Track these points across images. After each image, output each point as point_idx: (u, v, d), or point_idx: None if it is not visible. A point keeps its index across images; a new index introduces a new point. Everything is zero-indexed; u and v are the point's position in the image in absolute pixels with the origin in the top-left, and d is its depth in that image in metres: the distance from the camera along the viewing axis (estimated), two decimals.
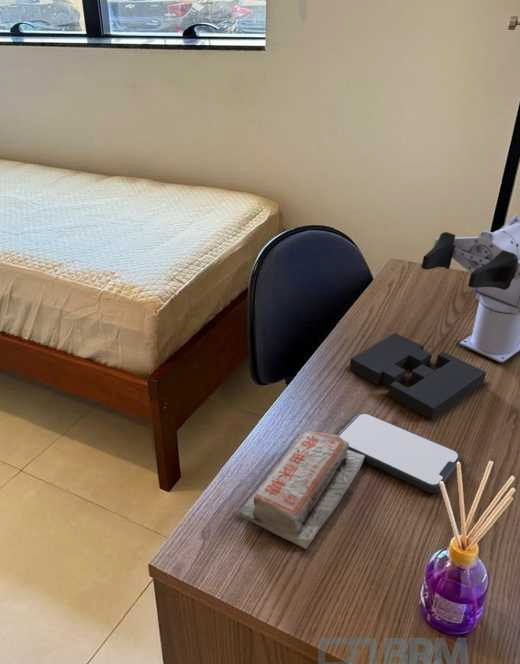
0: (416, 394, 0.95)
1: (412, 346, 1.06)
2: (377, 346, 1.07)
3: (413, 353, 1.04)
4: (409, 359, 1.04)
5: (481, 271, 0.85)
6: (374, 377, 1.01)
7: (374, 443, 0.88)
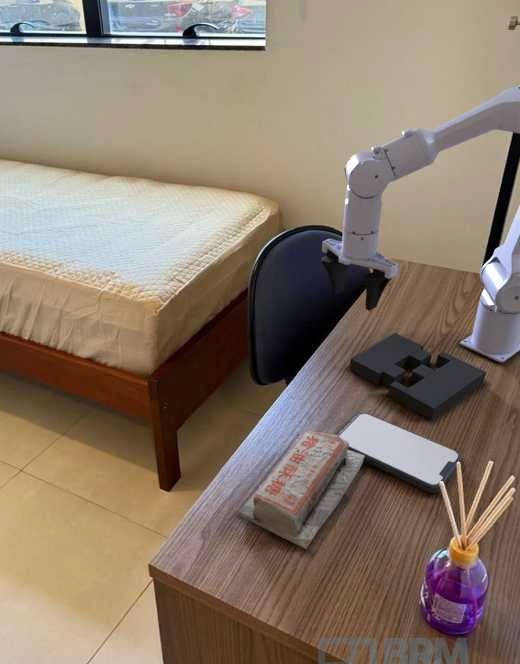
0: (416, 394, 0.95)
1: (412, 346, 1.06)
2: (377, 346, 1.07)
3: (413, 353, 1.04)
4: (409, 359, 1.04)
5: (369, 304, 1.03)
6: (374, 377, 1.01)
7: (374, 443, 0.88)
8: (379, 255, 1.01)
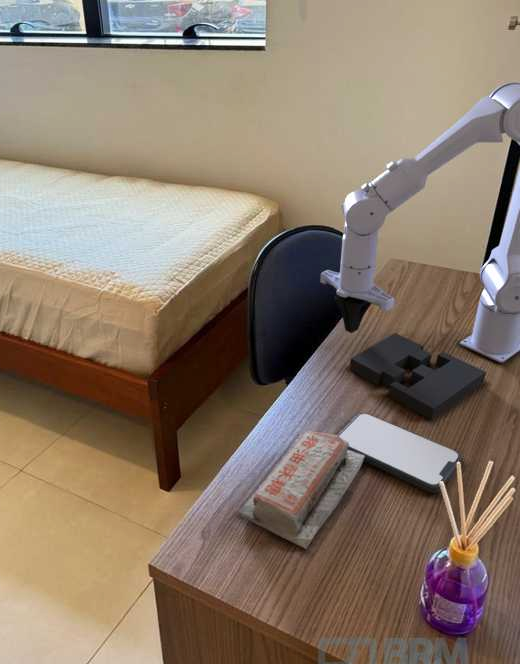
0: (416, 394, 0.95)
1: (412, 346, 1.06)
2: (377, 346, 1.07)
3: (413, 353, 1.04)
4: (409, 359, 1.04)
5: (351, 327, 1.08)
6: (374, 377, 1.01)
7: (374, 443, 0.88)
8: (376, 288, 1.04)
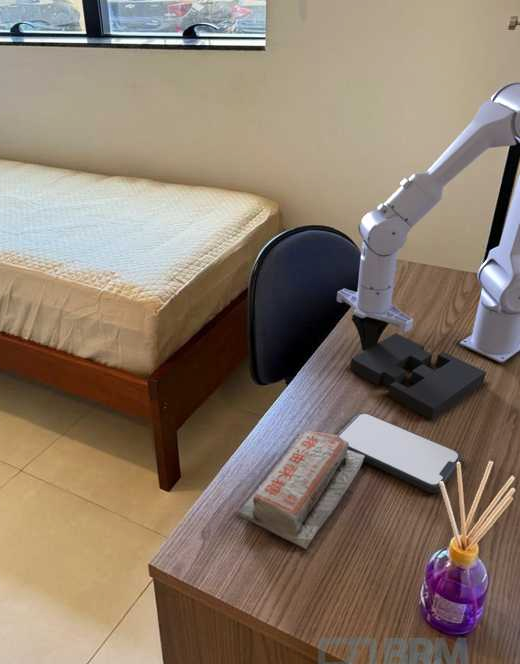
0: (416, 394, 0.95)
1: (413, 347, 1.06)
2: (378, 347, 1.07)
3: (414, 353, 1.04)
4: (410, 360, 1.04)
5: (368, 347, 1.07)
6: (375, 377, 1.01)
7: (374, 443, 0.88)
8: (394, 308, 1.03)
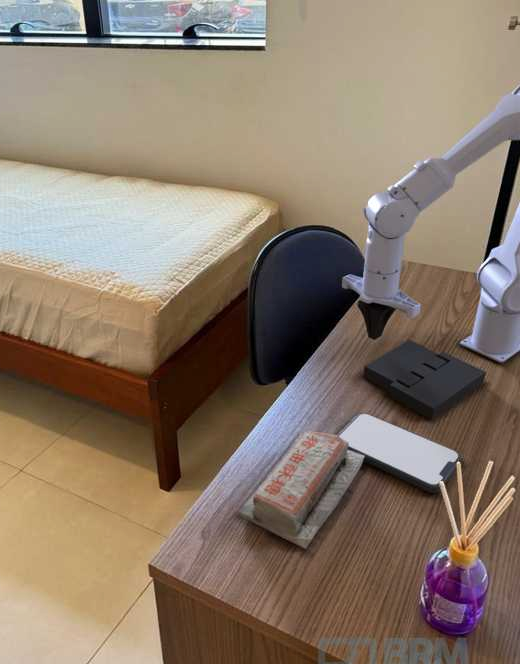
0: (416, 394, 0.95)
1: (427, 354, 1.04)
2: (392, 354, 1.05)
3: (428, 361, 1.02)
4: None
5: (374, 334, 1.05)
6: (389, 385, 0.99)
7: (374, 443, 0.88)
8: (401, 293, 1.00)
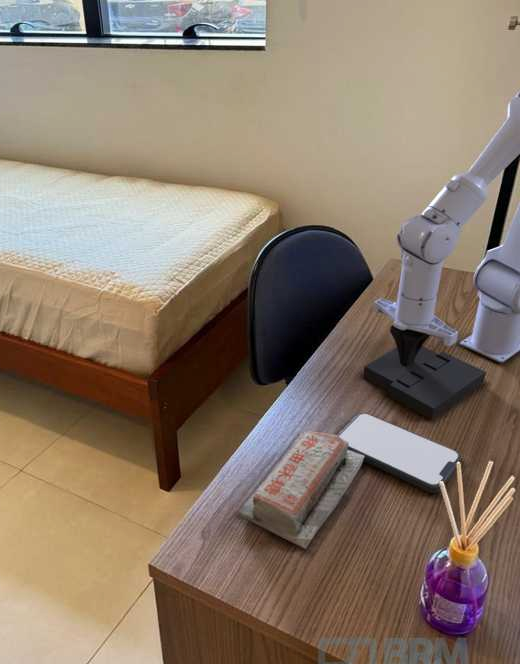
0: (416, 394, 0.95)
1: (427, 354, 1.04)
2: (391, 354, 1.05)
3: (428, 361, 1.02)
4: None
5: (407, 361, 1.01)
6: (389, 386, 0.99)
7: (374, 443, 0.88)
8: (436, 319, 0.97)
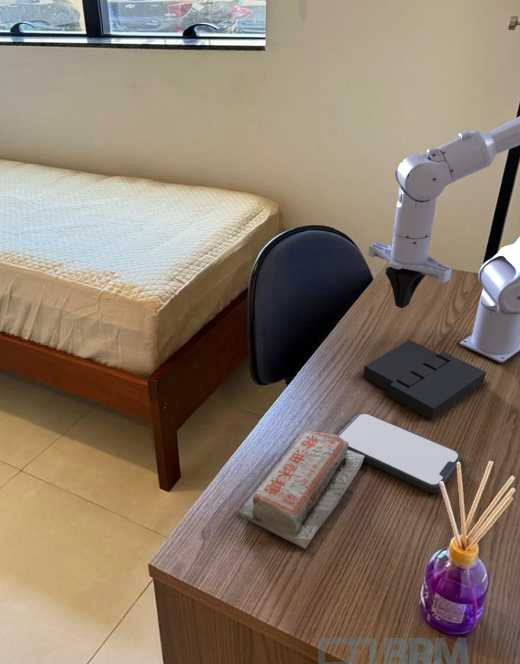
0: (416, 394, 0.95)
1: (427, 354, 1.04)
2: (391, 354, 1.05)
3: (428, 361, 1.02)
4: None
5: (402, 302, 1.03)
6: (389, 385, 0.99)
7: (374, 443, 0.88)
8: (430, 259, 0.99)
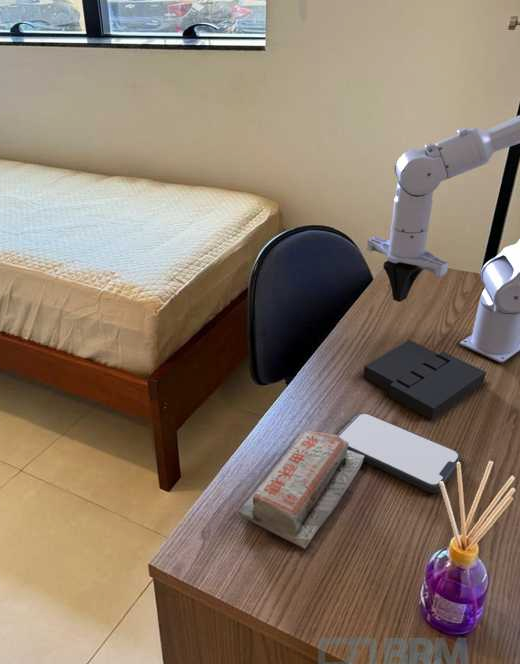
0: (416, 394, 0.95)
1: (427, 354, 1.04)
2: (391, 354, 1.05)
3: (428, 361, 1.02)
4: None
5: (399, 296, 1.05)
6: (389, 385, 0.99)
7: (374, 443, 0.88)
8: (427, 253, 1.00)
